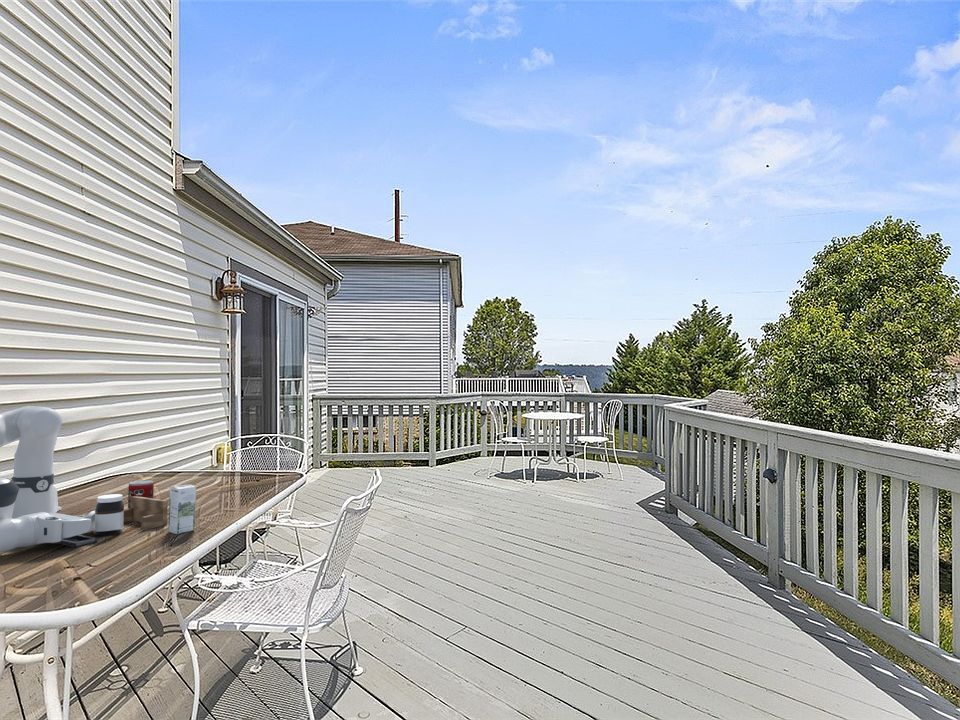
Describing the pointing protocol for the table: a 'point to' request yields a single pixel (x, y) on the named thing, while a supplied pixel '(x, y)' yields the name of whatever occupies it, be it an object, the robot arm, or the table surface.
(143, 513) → the brown box
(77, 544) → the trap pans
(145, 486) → the canned food
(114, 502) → the spread jar
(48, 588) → the table surface
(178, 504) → the syrup box
